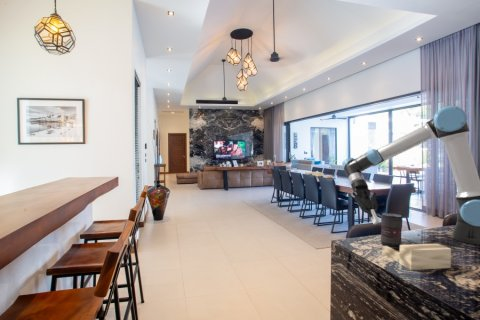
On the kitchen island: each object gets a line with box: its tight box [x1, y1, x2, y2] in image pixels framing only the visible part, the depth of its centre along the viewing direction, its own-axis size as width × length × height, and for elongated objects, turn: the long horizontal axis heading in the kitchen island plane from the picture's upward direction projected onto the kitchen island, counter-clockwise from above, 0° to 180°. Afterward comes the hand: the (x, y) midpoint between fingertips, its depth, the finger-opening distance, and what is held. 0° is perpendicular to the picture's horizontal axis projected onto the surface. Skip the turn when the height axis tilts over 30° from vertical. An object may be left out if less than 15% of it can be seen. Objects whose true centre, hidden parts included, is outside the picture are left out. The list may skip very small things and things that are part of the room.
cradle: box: [381, 243, 452, 271], centre depth 110 cm, size 17×16×7 cm
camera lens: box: [380, 212, 403, 252], centre depth 123 cm, size 8×8×15 cm
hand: (376, 222), depth 132 cm, fingers closed
